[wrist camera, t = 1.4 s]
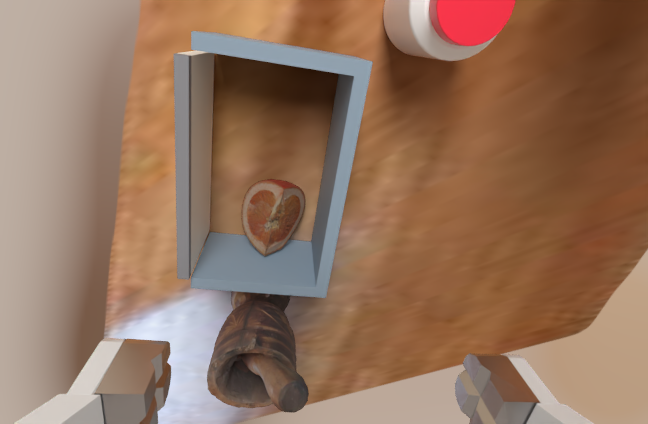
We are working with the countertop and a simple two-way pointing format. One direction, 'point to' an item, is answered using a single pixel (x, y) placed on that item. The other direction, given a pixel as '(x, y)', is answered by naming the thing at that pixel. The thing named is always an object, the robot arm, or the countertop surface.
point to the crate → (317, 256)
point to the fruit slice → (271, 213)
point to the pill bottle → (445, 26)
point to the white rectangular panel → (193, 154)
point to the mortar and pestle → (257, 356)
